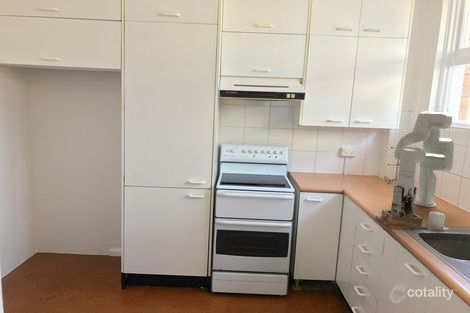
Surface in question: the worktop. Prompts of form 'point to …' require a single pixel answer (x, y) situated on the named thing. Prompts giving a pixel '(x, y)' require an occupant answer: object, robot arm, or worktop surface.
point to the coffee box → (401, 203)
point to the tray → (401, 221)
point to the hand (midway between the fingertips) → (402, 206)
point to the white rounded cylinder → (436, 220)
